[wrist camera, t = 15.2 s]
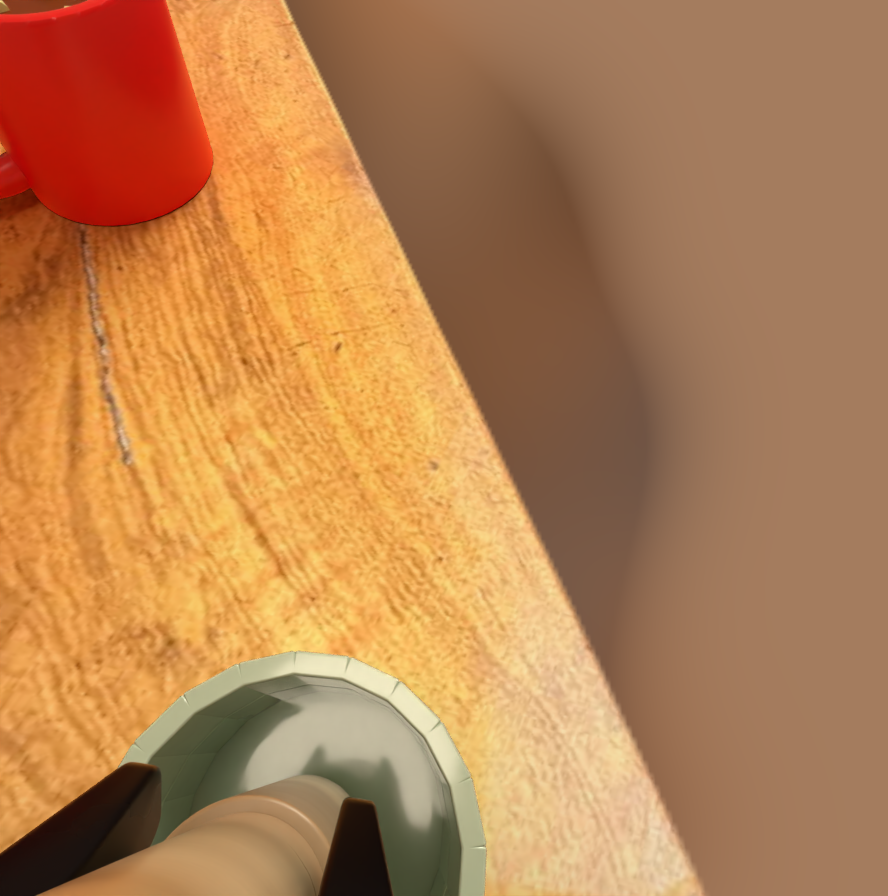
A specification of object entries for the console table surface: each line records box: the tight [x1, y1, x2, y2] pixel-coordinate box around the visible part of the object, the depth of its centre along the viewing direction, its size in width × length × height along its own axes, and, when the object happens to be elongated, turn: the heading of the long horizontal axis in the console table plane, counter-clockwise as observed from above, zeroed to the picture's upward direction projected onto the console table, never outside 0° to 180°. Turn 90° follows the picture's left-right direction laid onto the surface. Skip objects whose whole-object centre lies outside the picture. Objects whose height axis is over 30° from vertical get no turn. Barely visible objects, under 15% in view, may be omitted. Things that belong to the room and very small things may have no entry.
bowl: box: [117, 651, 487, 896], centre depth 13 cm, size 8×8×6 cm
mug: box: [0, 0, 213, 226], centre depth 22 cm, size 8×12×8 cm, turn 130°
